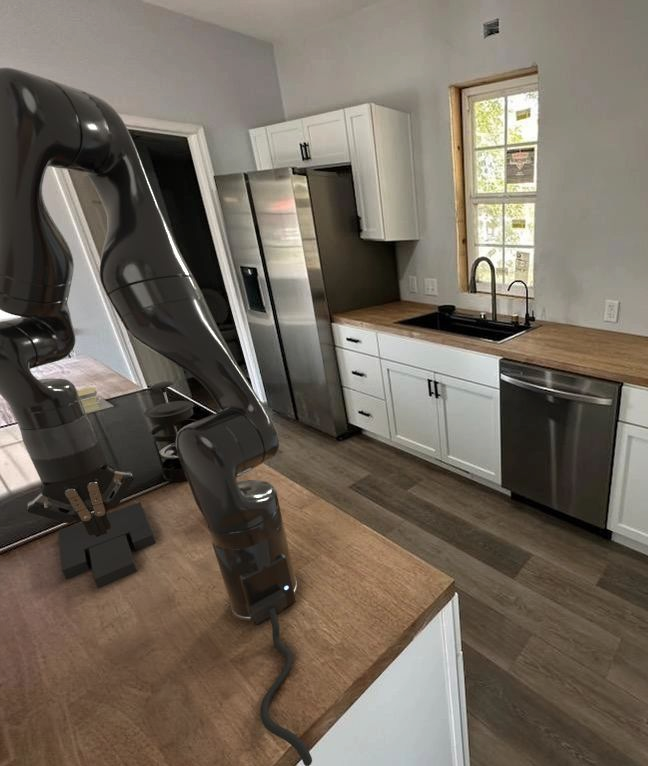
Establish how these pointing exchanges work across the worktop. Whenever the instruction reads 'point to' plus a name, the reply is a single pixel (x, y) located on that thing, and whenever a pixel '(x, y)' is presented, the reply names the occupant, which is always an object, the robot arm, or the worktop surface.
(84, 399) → the stacked layers on plate
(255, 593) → the robot arm
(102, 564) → the black pad
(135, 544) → the charcoal u-shaped block
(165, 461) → the french press
